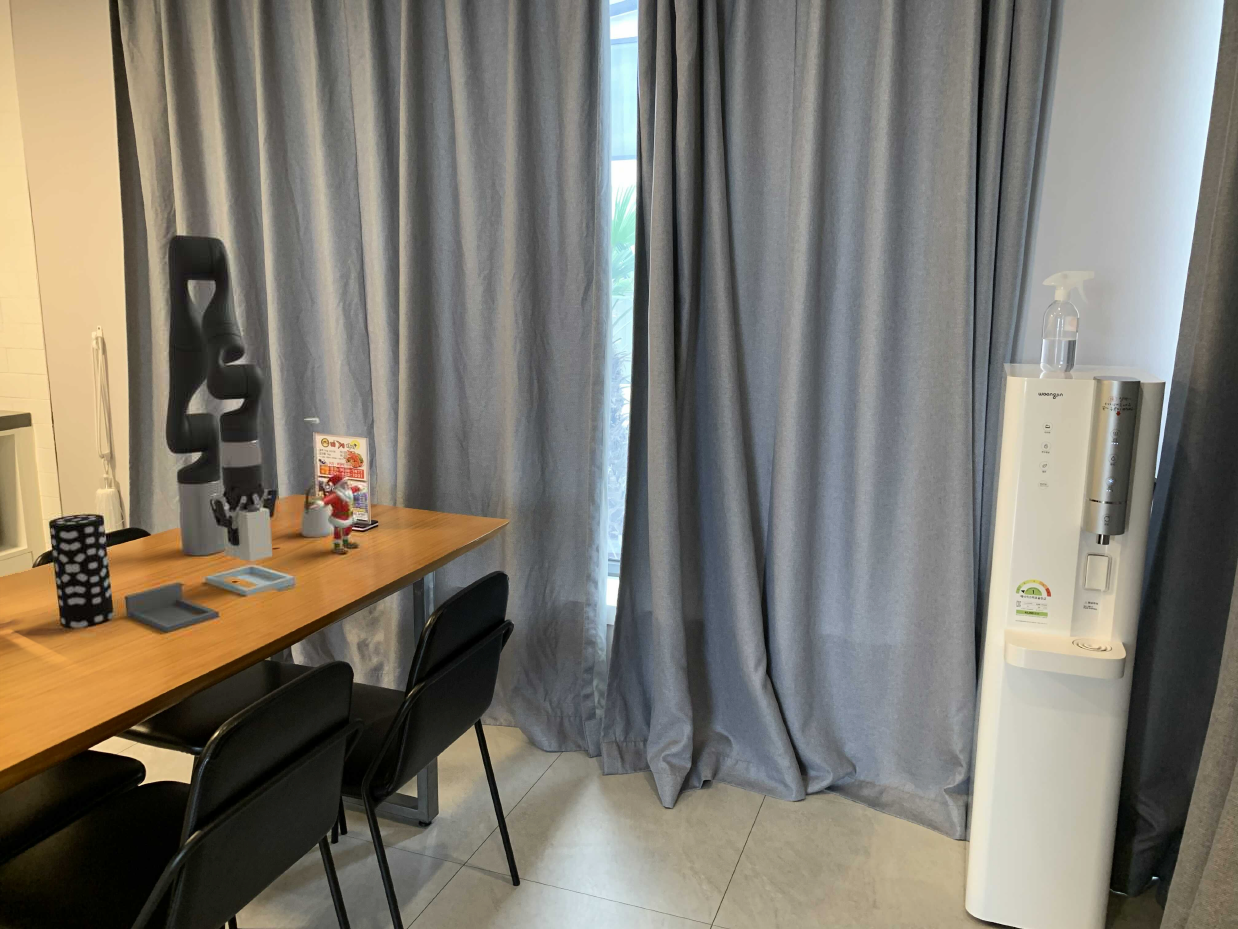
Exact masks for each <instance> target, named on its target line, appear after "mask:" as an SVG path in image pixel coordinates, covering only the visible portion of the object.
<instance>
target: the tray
mask: <svg viewBox="0 0 1238 929" xmlns="http://www.w3.org/2000/svg"><path fill="white" fill-rule="evenodd" d="M204 577H205V578H204V580H205V583H206V584H209V585H213V586H216V587H218V588H222V589H225V590H227V591H231V592H234V593H236V594H240V595H243V596H245V597H248V596H252V595H255V594H259V593H262V592H265V591H269V590H273V591H277V592H281V591H284V590H289V589H290V588H294V587H296V577H295V576H293V575H290V574H287V573H284V572H280V571H276V570H274V569H270V568H267V567H264V566H260V565H256V564H254V563H253V564H248V565H245V566H242V567H239V568H235V569H230V570H227V571H223V572H219V573H216V574H215V573H214V574H212V575H207V576H204ZM231 577H233V578H236V579H239V580H242V581H246V582H249V583H252V584H255V586H252V587H245V586H242V585H239V584H237V583H233V582H230V581H228V580H224V579H229V578H231Z"/></svg>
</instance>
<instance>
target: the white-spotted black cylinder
mask: <svg viewBox="0 0 1238 929" xmlns="http://www.w3.org/2000/svg"><path fill="white" fill-rule="evenodd" d="M104 519H105V516H104V515H102V514H97V513H96V514H95V513H86V514H85V513H83V514H81V513H80V514H72V515H66V516H61V517H57V518H53V519H52V520H50V521H48V526H49V534H50V535H49V536H50V543H51V553H52V560H53V568H54V569H53V570H54V577H55V578H54V579H55V586H56V594H57V604H58V612H59V613H58V614H59V620H60V621H59V622H60V623H59V624H60V626H61V628H62V627H63V628H66V629H82V628H83V629H84V628H85V629H86V628H90V627H96V626H99V625H102V624H105V623H107V622H110V621H112V619H114V617H115V614H114V605H113V594H112V585H111V584H112V583H111V574H110V567H109V566H110V565H109V564H110V563H109V556H108V555H109V554H108V547H107V537H106V527H105V520H104Z"/></svg>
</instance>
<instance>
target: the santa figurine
mask: <svg viewBox="0 0 1238 929" xmlns="http://www.w3.org/2000/svg"><path fill="white" fill-rule="evenodd" d="M329 483H331V485H332V487H333V490H332V491H331V492H329V493H328V494H326V496H325V497H324V496H323V498H322V499H320V500H319V501H316V502H315V503H314V505H312V506H311V507H310V508H311V509H312V508H313V509H314V508H316V510H317V509H321V508H323V507H324V506H325V505H329V506H330V508H332V511H331V515H330V516H329V517H328V521H329V523H330V524H331V525H333V526H334V533H333V537H332V543H333V553H334V554H337V555H343V554H346V553H349V549H354V548H358V547H359V546H360V543H359V542H358V541H353V540H352V539H351V540H350V541H349V539H350V538H351V535H350V534H351V533H352V531H353V528H354V524H355V523H357V520H358V518H357V515H355V513H354V503H355V501H354V499H355V496H354V494H355V493H361V492H362V491H364V490H365V489H366V486H365V485H359V484H354V485H352V486H350V485H351V484H350V483H349V477H348V476H346V475H345V474H341V473H336V474H333V475H331V476H330V477H329V478H328V479H327V480H326V483H324V484H323V487H324V488H325V487H327V486H328V484H329ZM341 543H342V544H341Z"/></svg>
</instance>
